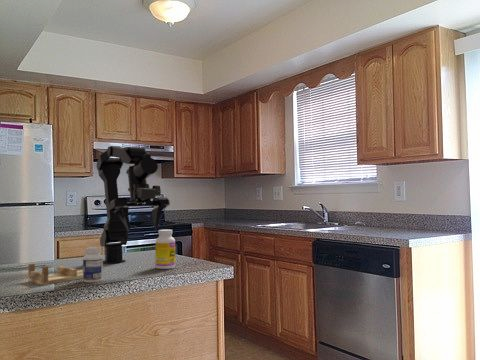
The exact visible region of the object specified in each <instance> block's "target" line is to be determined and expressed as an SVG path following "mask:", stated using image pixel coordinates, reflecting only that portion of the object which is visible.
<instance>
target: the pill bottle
mask: <svg viewBox="0 0 480 360" xmlns="http://www.w3.org/2000/svg"><path fill="white" fill-rule="evenodd" d="M85 253H86V254H85V255H84V256H83V257H82V265H83V266H82V269H83V278H82V279H83V280H82V281H83V282H84V283H98V282H101V281H103V278H104V277H103V275H104V262H103V260H104V258H103V255H102V254H100V253H101V246H89V247H88V246H86V248H85Z"/></svg>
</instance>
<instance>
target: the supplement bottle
mask: <svg viewBox="0 0 480 360" xmlns="http://www.w3.org/2000/svg"><path fill="white" fill-rule="evenodd" d="M157 233H158V237H157V238H156V239H155V268H156V269H159V270H171V269H174V268H175V267H176V239H175V238H174V237H173V236H172V235H173V229H158V232H157Z"/></svg>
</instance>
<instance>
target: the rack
mask: <svg viewBox="0 0 480 360" xmlns="http://www.w3.org/2000/svg"><path fill="white" fill-rule="evenodd" d="M35 265H36V264H35V263H29V264H28V282H29V283H33V284H36V285H37V284H38V285H40V286H41V285H42V286H49V285H53V284H59V283H65V282H70V281H75V280H79V279H83V268H80V269H77V268H73V267H72V268H71V267H67V266H62V265H59V266H57V273H56V272H55V273H50V274H49V266H42V267H41V271H35V270H36V269H35V268H36V266H35Z"/></svg>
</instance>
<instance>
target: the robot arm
mask: <svg viewBox="0 0 480 360" xmlns="http://www.w3.org/2000/svg"><path fill="white" fill-rule="evenodd" d="M113 157H114V158H113ZM124 164H126V165H129V167H128V169H126V172H125V173H126V175H127V177H128V188H127V192H129V198H130V200H128V199H127V197H119V190H118V178H119V176H120V174H121V169H122V168H123V165H124ZM158 167H159V165H158V163H157V161H156V160H155V159H154V158H152V156H151V154H150V153H148V152H147V151H146V148H145V147H138V146H125V147H124V146H120V145H109V146H107V148H106V150H105V151H104V152H103V153H101V154H100V155H99V156H98V159H97V162H96V169H97V172H98V173H97V174H98V176H99V178H100V179H101V180H102V181H103V185H104V196H105V197H104V198H105V199H104V200H105V208H106V209H105V210H106V221H105V222H104V226H103V230H102V232H101V235H100V239H99V245H100V246H99V247H102V248H103V247H104V259H103V264H104V263H105V264H109V265H110V264H112V265H113V264H118V263H123V262H126V261H127V260H126V259H123V246H126V245H127V244H128V237H129V232H130V231H131V222H130V217H129V208H131V207H133V208H134V207H135V208H136V207H137V208H138V207H139V208H140V207H151V208H152V210H151V215H152V222H153V227H154V230H158V228H159V222H160V218H161V214H162V212H163V210H165V209H167V207H169V206H170V204H171V203H170V199H169V198H168V197H156V196H161V194H162V193H161V192H162V190H161V186H160V185H152V187H150V185H149V183H148V182H147V179H148V178H149V177H151V176H152V175H154V174H155V173H156V172H157V171H158Z"/></svg>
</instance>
